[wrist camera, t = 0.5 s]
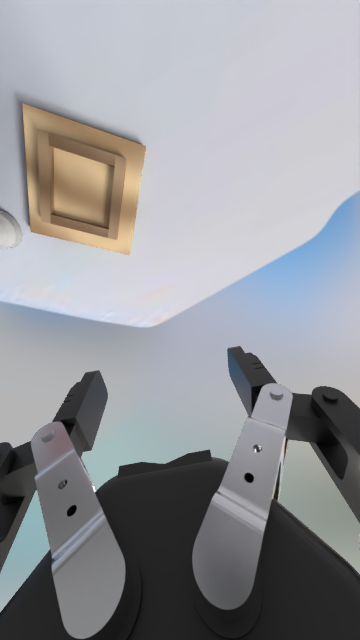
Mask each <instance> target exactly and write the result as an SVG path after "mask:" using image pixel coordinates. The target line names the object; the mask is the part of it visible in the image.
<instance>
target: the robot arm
mask: <svg viewBox="0 0 360 640" xmlns="http://www.w3.org/2000/svg"><path fill="white" fill-rule="evenodd" d="M227 351H228V366H229V373H230V377H231V379H232V381H233V383H234V386H235V388H236V390H237V392H238V394H239V396H240V398H241V401H242V403H243V405H244V407H245V409H246V411H247V413H248V415H249V416H248V417H247V418H246V421H245V423H244V426H243V428H242V431H241V433H240V436H239V438H238V441H237V444H236V446H235V449H234V451H233V454H232V456H231V459H230V462H228V461H225V460H223V459H219V458H214V457H211V453H210V450H205V451H199V452H194V453H189V454H186V455H184V456H182V457H179V458H177V459H175V460H173V461H171V462H169V463H166V464H156V463H147V462H140V463H134V464H129V465H123V466H119V472H118V475H117V476H115V477H113V478H112V479H110V480H108V481H107V482H106V483H104V484H103V485H102V486H101V487H100V488H99V489H98V490H96V488H95V486H94V484H93V482H92V480H91V478H90V476H89V474H88V472H87V470H86V467H85V465H84V463H83V461H82V459H81V456H82V453H83V452H85V451H90V450H92V447H93V444H94V440H95V437H96V434H97V431H98V428H99V425H100V421H101V418H102V415H103V412H104V409H105V405H106V402H107V398H108V394H107V389H106V386H105V383H104V381H103V378H102V375H101V373H100V371H92V372H86V373H85V374H84V376H83V378H82V380H81V382H78V383H76V384H75V385H74V386H73V387H72V388H71V389H70V391H69V393H68V395H67V397H66V398H65V400H64V403H63V404H62V405H61V407H60V409H59V411H58V412H57V414H56V416H55V418H54V420H53V421H52V423H49V424H47V425H45V426H44V427H42V428H41V429H39V430H38V431H37V432H36V433H35V435H34V436H33V438H32V440H31V441H30V442H27V443H25V444H23V445H20V446H18V447H16V448H13V447H12V446H11V445H10V444H9V443H7V442H4V443H0V572H1V569H2V567H3V564H4V562H5V560H6V558H7V555H8V553H9V550H10V548H11V546H12V544H13V541H14V539H15V537H16V534H17V532H18V530H19V527H20V525H21V523H22V521H23V518H24V516H25V514H26V511H27V509H28V507H29V504H30V502H31V500H32V497H33V495H34V493H35V490H37V491H38V496H39V500H40V505H41V509H42V513H43V518H44V522H45V527H46V531H47V536H48V540H49V544H50V550H49V551H48V553H47V554H46V555H45V556H44V558H43V559H42V560H41V562H40V563H39V564H38V565H37V567H36V568H35V569H34V570H33V572H32V573H31V574H30V576H29V577H28V578H27V579H26V581H25V582H24V583H23V584H22V586H21V587H20V588H19V590H18V591H17V592H16V593H15V595H14V596H13V597H12V599H11V600H10V601H9V602H8V604H7V605H6V606H5V607H4V609H3V610H2V611H1V612H0V640H360V574H359V573H358V572H357V571H356V570H355V569H354V568H353V567H352V566H351V565H350V564H349V563H348V562H347V561H346V560H345V559H344V558H343V557H341V556H340V555H339V554H338V553H337V552H336V551H334V550H333V549H332V548H331V547H330V546H329V545H327V544H326V543H325V542H324V541H323V540H322V539H320V538H319V537H318V536H317V535H316V534H315V533H314V532H312V531H311V530H310V529H309V528H308V527H307V526H305V525H304V524H303V523H302V522H301V521H300V520H298V519H297V518H296V517H295V516H294V515H293V514H292V513H290V512H289V511H288V510H287V509H286V508H285V507H283V506H282V505H281V504H280V503H279V497H280V490H281V484H282V483H281V482H282V476H283V470H284V464H285V458H286V452H287V447H288V441H289V439H290V440H297V441H305V442H309V443H310V444H311V446H312V448H313V449H314V451H315V452H316V454H317V456H318V457H319V459H320V460H321V462H322V464H323V465H324V467H325V468H326V470H327V472H328V473H329V475H330V476H331V478H332V480H333V481H334V483H335V484H336V486H337V488H338V489H339V490H340V492H341V494H342V496H343V497H344V499H345V500H346V502H347V504H348V505H349V507H350V508H351V510H352V512H353V513H354V515H355V516H356V518H357V519H358V521H359V522H360V408H359V407H357V406H356V405H355V404H354V403H353V402H352V401H351V400H350V399H349V398H348V397H347V396H346V395H345V394H344V393H342V392H341V391H339V390H337V389H335V388H331V387H326V386H320V387H317V388H315V389H314V390H313V391H312V395H308V394H296V393H292V392H291V391H290V390H289V389H288V388H287V387H285V386H283V385H281V384H277V382H276V381H275V380H274V379H273V377H272V376H271V375H270V373H269V372H268V371H267V369H266V368H265V367H264V365H263V364H262V363H261V361H260V360H259V359H258V357H257V356H255V355H253V354H252V353H244V351H243V350H242V348H241V347H240V346H237V347H232V348H228V350H227ZM358 544H359V549H360V534H359V538H358Z"/></svg>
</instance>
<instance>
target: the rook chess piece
mask: <svg viewBox="0 0 360 640" xmlns="http://www.w3.org/2000/svg"><path fill="white" fill-rule="evenodd" d="M21 240H22V232H21V228H20V226H19V224H18V223H17V222H16V220H15V219H14V218H13V217H11V216H10V215H9V214H8V213H5V212H3V211H1V210H0V249H8V248H13V247H16V246H18V245H19V243H20V242H21Z"/></svg>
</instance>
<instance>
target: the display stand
mask: <svg viewBox="0 0 360 640" xmlns="http://www.w3.org/2000/svg"><path fill="white" fill-rule="evenodd" d="M22 105H23V120H24V136H25V151H26V167H27V182H28V198H29V213H30V229H31V232H34V233H38V234H42V235H46V236H50V237H55V238H59V239H63V240H67V241H72V242H76V243H80V244H84V245H88V246H93V247H97V248H101V249H105V250H109V251H114V252H118V253H122V254H126V255H130V252H131V245H132V238H133V231H134V225H135V218H136V211H137V204H138V198H139V191H140V184H141V177H142V171H143V164H144V157H145V150H146V147H145V146H144V145H141V144H138V143H135V142H132V141H129V140H127V139H124V138H121V137H118V136H115V135H112V134H109V133H107V132H104V131H101V130H98V129H95V128H92V127H89V126H87V125H84V124H81V123H78V122H75V121H72V120H70V119H67V118H64V117H61V116H58V115H55V114H52V113H50V112H47V111H44V110H41V109H38V108H35V107H32V106H30V105H27V104H24V103H22Z"/></svg>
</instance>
